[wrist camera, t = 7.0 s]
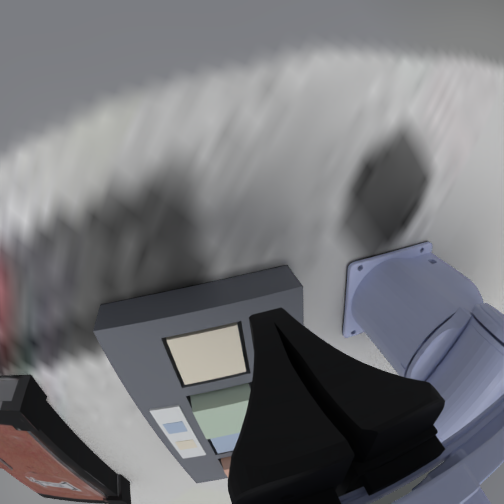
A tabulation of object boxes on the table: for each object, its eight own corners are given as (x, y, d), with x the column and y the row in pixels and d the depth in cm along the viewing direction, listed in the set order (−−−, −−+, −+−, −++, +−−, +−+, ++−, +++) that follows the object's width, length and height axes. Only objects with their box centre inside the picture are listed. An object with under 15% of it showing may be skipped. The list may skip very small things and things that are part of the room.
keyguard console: (287, 264, 22) (304, 288, 19) (293, 441, 35) (301, 460, 32) (100, 305, 20) (92, 333, 17) (193, 464, 33) (196, 484, 30)
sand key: (231, 306, 21) (237, 325, 20) (240, 353, 24) (246, 371, 22) (165, 320, 21) (166, 340, 19) (182, 365, 23) (184, 384, 21)
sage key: (247, 379, 23) (253, 398, 21) (253, 409, 25) (259, 427, 23) (189, 392, 22) (192, 412, 20) (202, 421, 24) (206, 439, 23)
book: (-60, 372, 18) (-73, 400, 14) (32, 371, 21) (19, 411, 17) (42, 475, 30) (40, 498, 26) (129, 479, 33) (131, 506, 29)
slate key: (251, 407, 27) (256, 423, 26) (256, 428, 30) (261, 443, 28) (204, 417, 27) (208, 434, 25) (214, 438, 29) (217, 453, 27)
